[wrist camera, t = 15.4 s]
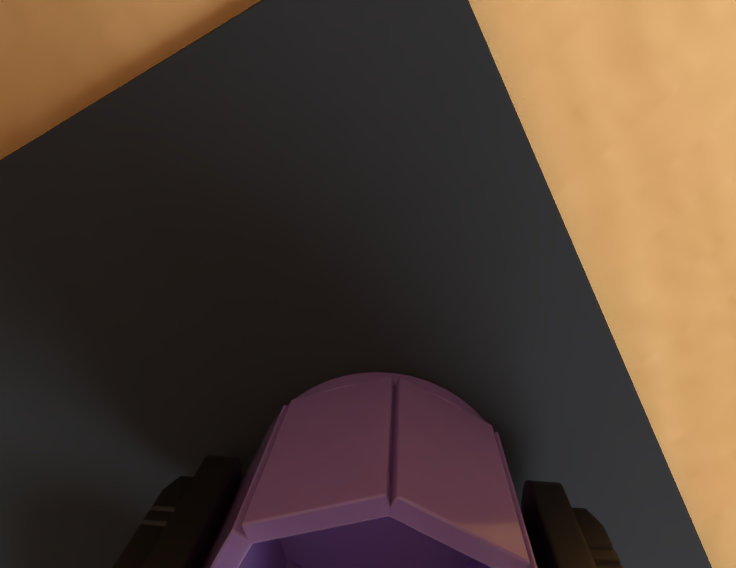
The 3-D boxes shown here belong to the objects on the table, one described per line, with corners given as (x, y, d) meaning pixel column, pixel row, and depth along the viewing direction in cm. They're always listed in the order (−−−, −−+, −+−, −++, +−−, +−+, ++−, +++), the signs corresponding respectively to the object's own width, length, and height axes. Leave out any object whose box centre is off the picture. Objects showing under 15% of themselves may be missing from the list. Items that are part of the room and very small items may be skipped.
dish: (217, 519, 14) (134, 699, 10) (326, 324, 12) (284, 438, 8) (425, 620, 15) (434, 833, 10) (558, 447, 13) (636, 616, 8)
